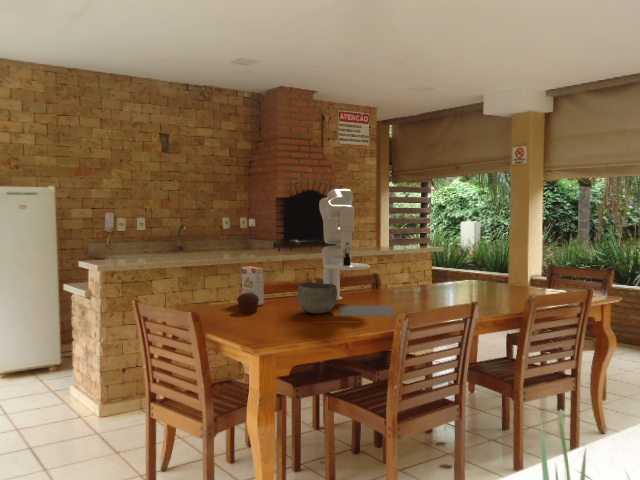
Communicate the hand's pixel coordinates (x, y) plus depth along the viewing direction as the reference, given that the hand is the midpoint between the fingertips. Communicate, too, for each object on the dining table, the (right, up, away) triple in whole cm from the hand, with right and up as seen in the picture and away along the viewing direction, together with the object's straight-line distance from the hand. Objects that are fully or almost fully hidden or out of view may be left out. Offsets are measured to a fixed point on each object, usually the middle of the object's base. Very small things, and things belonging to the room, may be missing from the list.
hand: (346, 264), depth 308 cm
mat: (+11, -25, +3) cm, 27 cm away
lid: (0, -2, 0) cm, 2 cm away
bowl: (-15, -25, -1) cm, 30 cm away
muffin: (-51, -25, +2) cm, 57 cm away
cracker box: (-52, -24, +27) cm, 63 cm away
